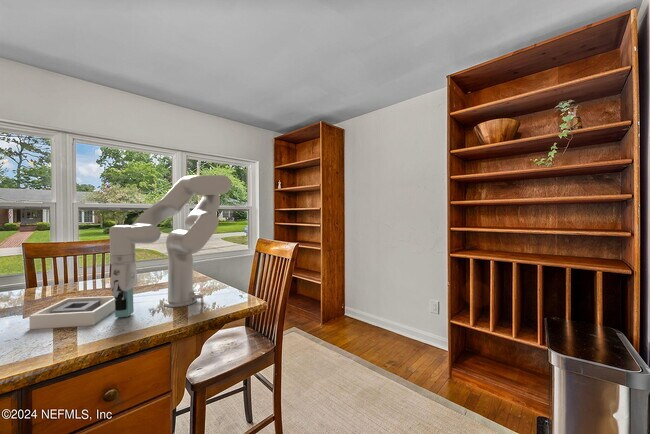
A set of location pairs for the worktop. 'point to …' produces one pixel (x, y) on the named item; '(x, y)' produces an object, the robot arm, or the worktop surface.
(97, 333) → the worktop surface
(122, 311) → the peg
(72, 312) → the walled box
